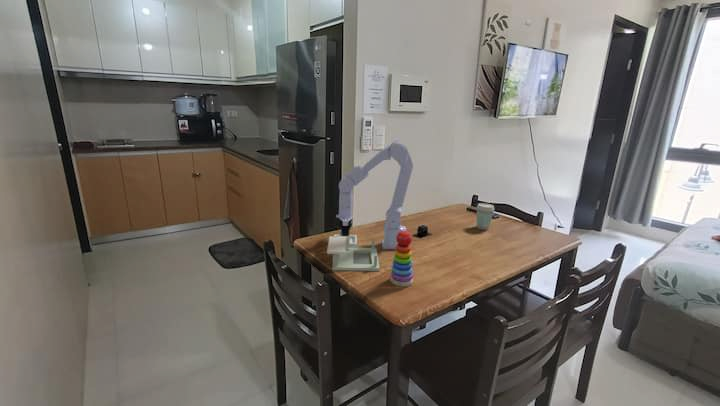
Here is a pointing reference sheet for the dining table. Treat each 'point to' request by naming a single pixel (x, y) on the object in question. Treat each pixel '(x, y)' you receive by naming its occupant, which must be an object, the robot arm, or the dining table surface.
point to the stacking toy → (402, 261)
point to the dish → (351, 240)
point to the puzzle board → (357, 259)
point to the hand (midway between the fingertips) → (345, 235)
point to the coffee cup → (484, 215)
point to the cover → (338, 245)
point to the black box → (422, 232)
